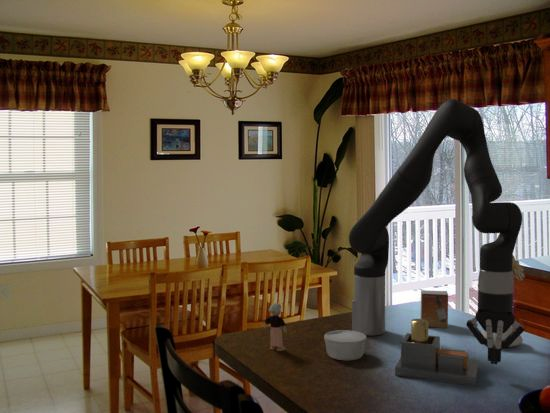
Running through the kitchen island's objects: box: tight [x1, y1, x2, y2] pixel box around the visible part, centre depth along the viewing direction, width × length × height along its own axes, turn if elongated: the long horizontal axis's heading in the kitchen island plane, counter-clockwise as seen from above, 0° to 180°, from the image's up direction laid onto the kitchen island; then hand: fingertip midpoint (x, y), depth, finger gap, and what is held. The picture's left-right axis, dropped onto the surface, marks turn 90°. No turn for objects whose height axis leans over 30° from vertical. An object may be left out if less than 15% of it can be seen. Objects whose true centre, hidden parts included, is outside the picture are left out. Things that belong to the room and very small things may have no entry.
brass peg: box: [410, 318, 429, 344], centre depth 137 cm, size 4×4×10 cm
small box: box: [419, 289, 449, 329], centre depth 175 cm, size 8×6×10 cm
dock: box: [394, 332, 480, 387], centre depth 136 cm, size 18×12×8 cm, turn 67°
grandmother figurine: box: [262, 302, 288, 352], centre depth 154 cm, size 8×4×13 cm, turn 65°
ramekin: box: [323, 329, 368, 361], centre depth 149 cm, size 11×11×5 cm
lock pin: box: [437, 348, 469, 369], centre depth 135 cm, size 9×3×3 cm, turn 67°
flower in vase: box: [480, 255, 526, 348], centre depth 156 cm, size 13×11×25 cm
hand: (494, 362), depth 131 cm, fingers closed
